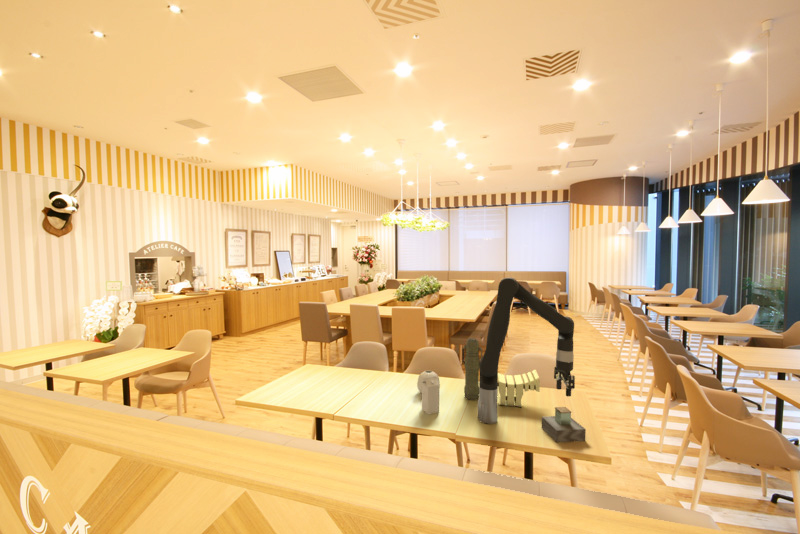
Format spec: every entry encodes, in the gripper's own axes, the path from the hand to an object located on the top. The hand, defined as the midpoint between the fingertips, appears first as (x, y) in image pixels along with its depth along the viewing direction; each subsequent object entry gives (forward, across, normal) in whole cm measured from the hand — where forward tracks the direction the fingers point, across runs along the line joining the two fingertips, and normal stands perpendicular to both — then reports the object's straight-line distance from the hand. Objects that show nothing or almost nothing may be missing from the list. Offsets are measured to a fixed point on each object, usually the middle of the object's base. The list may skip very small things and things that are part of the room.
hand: (563, 392), depth 174 cm
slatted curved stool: (+21, -38, -11) cm, 45 cm away
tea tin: (+15, 0, 0) cm, 15 cm away
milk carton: (+21, -30, -59) cm, 69 cm away
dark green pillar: (+21, -47, -31) cm, 60 cm away
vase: (+21, -55, -56) cm, 81 cm away
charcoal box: (+21, 0, 0) cm, 21 cm away
